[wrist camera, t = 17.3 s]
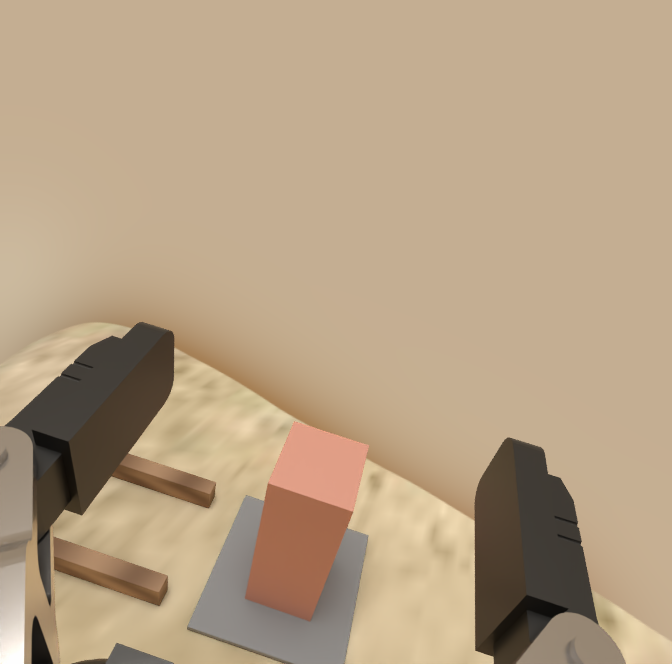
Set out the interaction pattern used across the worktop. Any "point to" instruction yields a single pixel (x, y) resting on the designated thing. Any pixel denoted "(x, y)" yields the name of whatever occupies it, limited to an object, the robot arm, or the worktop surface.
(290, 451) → the red block
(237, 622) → the mat
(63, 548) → the frame
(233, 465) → the worktop surface
